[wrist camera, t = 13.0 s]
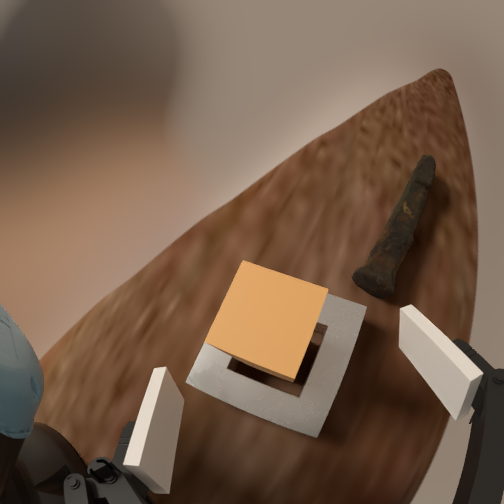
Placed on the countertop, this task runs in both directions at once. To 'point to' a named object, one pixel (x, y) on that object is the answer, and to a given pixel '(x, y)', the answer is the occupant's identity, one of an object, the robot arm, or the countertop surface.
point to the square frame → (275, 400)
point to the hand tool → (397, 234)
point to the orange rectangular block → (267, 320)
